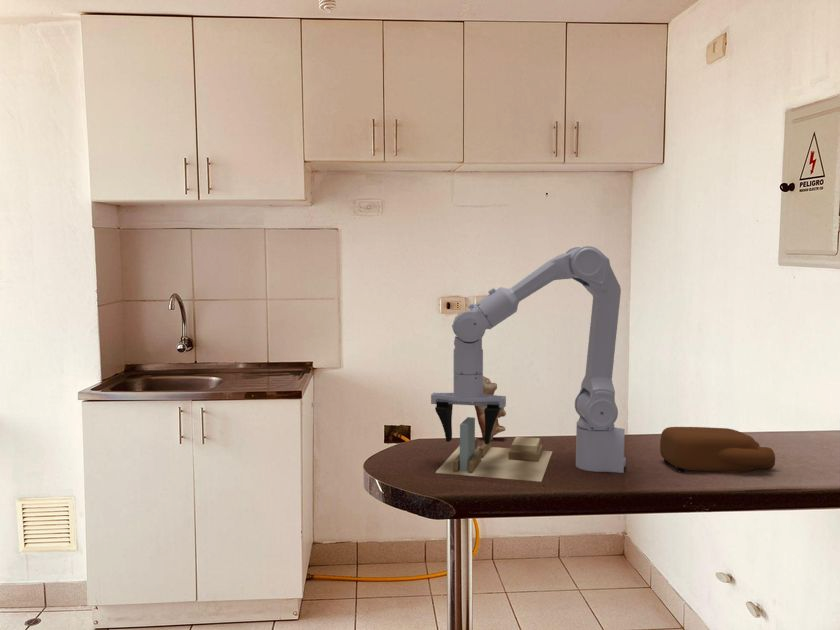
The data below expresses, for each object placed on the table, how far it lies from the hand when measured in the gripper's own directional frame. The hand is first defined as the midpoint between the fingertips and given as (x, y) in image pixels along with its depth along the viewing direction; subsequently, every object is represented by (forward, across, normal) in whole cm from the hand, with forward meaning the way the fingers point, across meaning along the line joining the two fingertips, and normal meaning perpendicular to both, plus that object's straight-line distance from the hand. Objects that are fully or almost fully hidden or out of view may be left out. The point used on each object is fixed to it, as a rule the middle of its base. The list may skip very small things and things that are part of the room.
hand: (468, 441), depth 140 cm
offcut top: (+3, -10, -11) cm, 15 cm away
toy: (+7, -47, -18) cm, 51 cm away
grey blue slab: (+5, 0, 0) cm, 5 cm away
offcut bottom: (+5, -10, -11) cm, 16 cm away
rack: (+6, -5, -5) cm, 9 cm away
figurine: (+6, 0, -24) cm, 25 cm away
